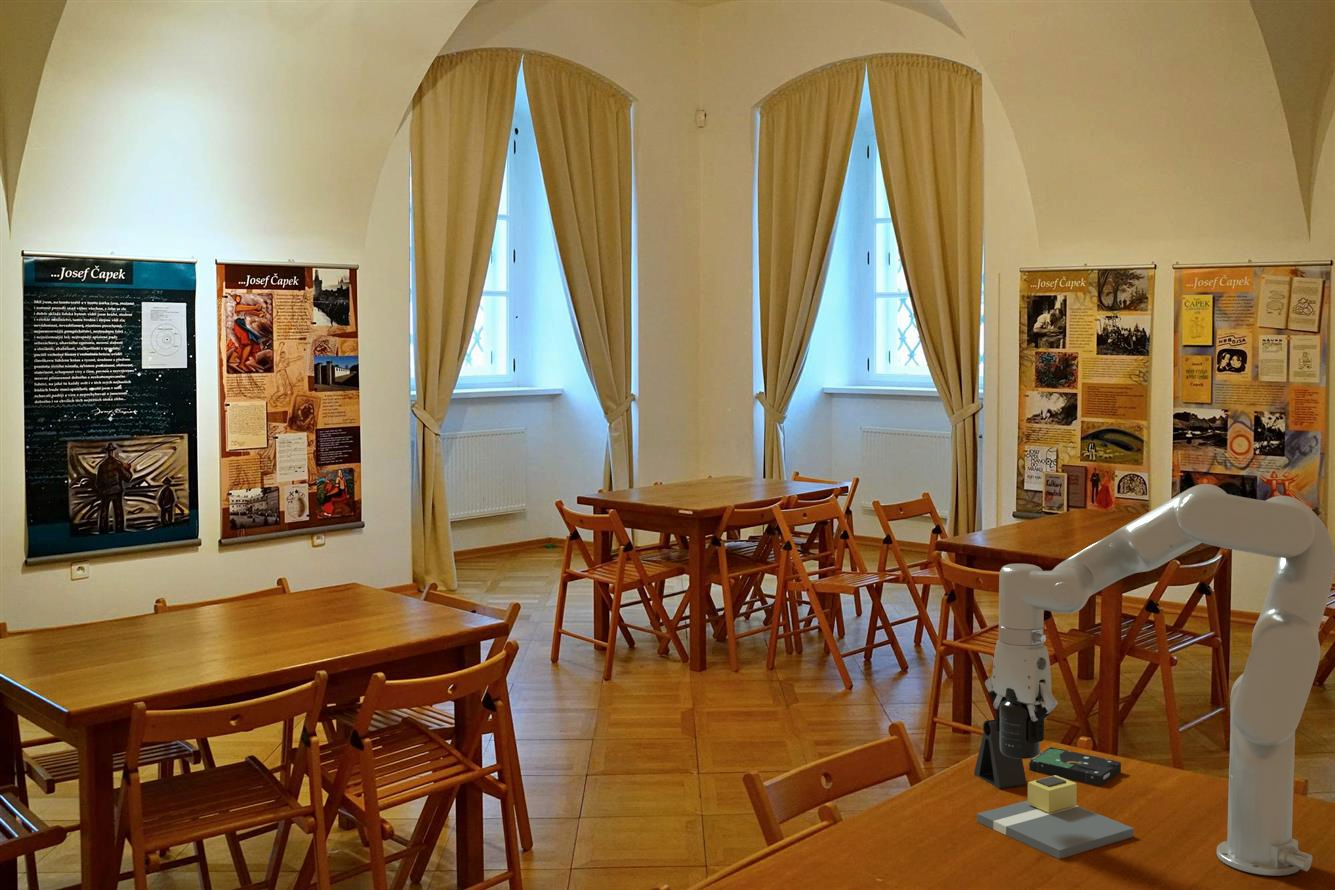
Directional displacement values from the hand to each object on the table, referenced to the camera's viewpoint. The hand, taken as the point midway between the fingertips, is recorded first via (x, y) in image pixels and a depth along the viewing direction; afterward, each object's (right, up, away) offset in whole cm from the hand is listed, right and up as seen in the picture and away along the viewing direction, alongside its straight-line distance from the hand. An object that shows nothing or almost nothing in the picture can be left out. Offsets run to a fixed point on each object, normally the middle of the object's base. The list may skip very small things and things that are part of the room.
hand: (1019, 735), depth 221 cm
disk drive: (+19, -15, +30) cm, 38 cm away
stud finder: (+8, -14, +7) cm, 18 cm away
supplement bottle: (0, -3, 0) cm, 4 cm away
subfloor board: (+6, -16, 0) cm, 18 cm away
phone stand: (+3, -15, +25) cm, 29 cm away
